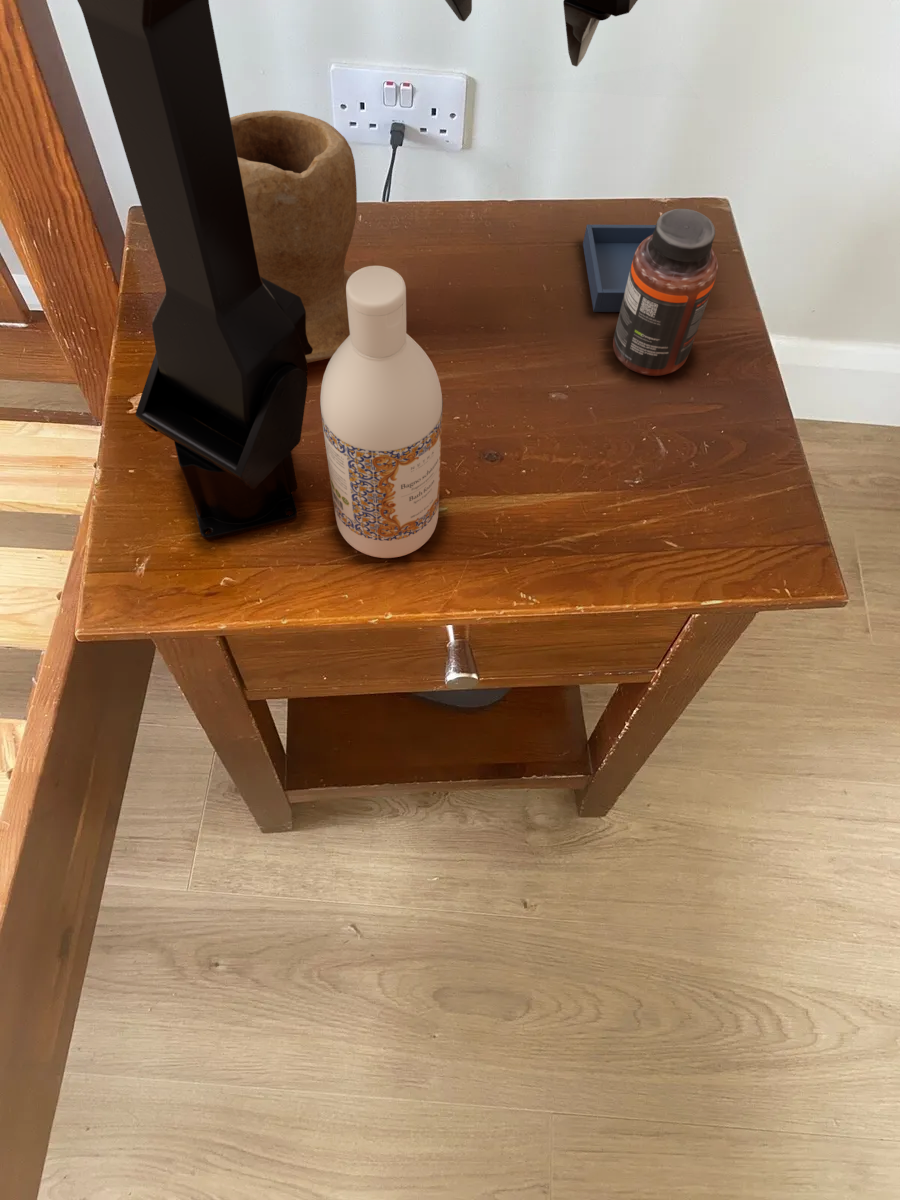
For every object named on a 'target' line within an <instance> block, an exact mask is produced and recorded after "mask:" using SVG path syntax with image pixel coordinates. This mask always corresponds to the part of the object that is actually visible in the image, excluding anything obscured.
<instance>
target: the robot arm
mask: <svg viewBox="0 0 900 1200" xmlns="http://www.w3.org/2000/svg"><path fill="white" fill-rule="evenodd" d="M76 1H77V3H78V5H79V8H80V10H81V12H82V16H83V19H84V21H85V25H86V28H87V31H88V35H89V38H90V41H91V45H92V48H93V51H94V54H95V58H96V61H97V65H98V68H99V71H100V74H101V77H102V78H101V79H102V81H103V84H104V88H105V90H106V94H107V98H108V100H109V101H108V102H109V104H110V107H111V111H112V115H113V117H114V120H115V124H116V127H117V130H118V134H119V137H120V140H121V143H122V147H123V151H124V153H125V157H126V161H127V163H128V167H129V169H130V173H131V177H132V179H133V183H134V186H135V189H136V193H137V196H138V199H139V203H140V207H141V209H142V212H143V215H144V219H145V222H146V225H147V229H148V232H149V235H150V239H151V242H152V245H153V249H154V252H155V255H156V258H157V262H158V266H159V268H160V272H161V276H162V279H163V282H164V286H165V292H164V293H163V296H162V297H161V299H160V302H159V304H158V306H157V308H156V310H155V312H154V315H153V317H152V319H151V328H152V334H153V335H152V336H153V341H154V347H155V354H154V356H153V360H152V362H151V366H150V369H149V372H148V374H147V377H146V381H145V383H144V387H143V389H142V393H141V395H140V399H139V401H138V405H137V407H136V410H135V417H136V418H137V419H138V420H139V421H140V422H141V423H142V424H144V425H145V426H147V428H149V429H150V430H151V431H154V432H159V434H162V435H163V436H165V437H166V438H168V439H170V440H171V441H173V442H174V446H175V452H176V456H177V461H178V465H179V467H180V469H181V472H182V475H183V478H184V481H185V483H186V486H187V488H188V491H189V493H190V497H191V499H192V502H193V505H194V511H195V515H196V519H197V522H198V523H197V524H198V528H199V532H200V535H201V537H202V539H203V540H205V541H214V540H218V539H222V538H226V537H229V536H234V535H239V534H242V533H243V534H244V533H246V532H250V531H255V530H258V529H259V530H260V529H264V528H267V527H272V526H276V525H280V524H283V523H288V522H292V521H294V520H296V519H297V518H298V516H299V515H298V508H297V505H296V502H295V498H294V495H293V493H295V492H297V491H298V489H299V487H298V485H299V484H298V480H297V476H296V471H295V466H294V461H293V455H292V451H293V450H294V449H295V448H296V447H297V446H298V445H299V444H300V442H301V440H302V431H303V423H304V417H305V416H304V414H305V408H306V402H307V401H306V400H307V392H308V374H309V373H308V363H307V360H306V356H305V355H308V354H311V353H312V351H313V348H312V347H311V345H310V344H309V343H308V339H307V335H306V311H305V308H304V306H303V303H302V300H301V298H300V297H299V296H297V295H295V294H293V293H291V292H290V291H288V290H286V289H284V288H282V287H280V286H278V285H276V284H274V283H272V282H270V281H268V280H266V279H265V278H263V277H261V276H260V274H259V270H258V265H257V259H256V254H255V248H254V243H253V238H252V232H251V227H250V222H249V216H248V211H247V205H246V200H245V195H244V189H243V184H242V179H241V173H240V168H239V162H238V157H237V152H236V146H235V141H234V136H233V130H232V125H231V119H230V118H231V113H230V110H229V104H228V98H227V92H226V87H225V83H224V82H225V81H224V77H223V72H222V66H221V61H220V55H219V50H218V45H217V40H216V34H215V29H214V24H213V18H212V11H211V6H210V0H76ZM444 1H445V2H446V4H447V5H448V7H449V8H450V9H451V11H452V12H453V13H454V15H455V16H456V18H457V19H458V20H459V21H461V22H465V21H467V19H468V18H469V17H470V15H471V14H472V10H473V0H444ZM638 1H639V0H563V1H562V4H563V5H562V6H563V11H564V12H563V13H564V14H563V15H564V24H565V32H566V33H565V34H566V43H567V52H568V56H569V60H570V64H571V65H572V66H573V67H576V68H577V67H578V66H579V65H580V63H581V62H583V59H584V58H585V56H586V54H587V51H588V49H589V47H590V44H591V42H592V40H593V37H594V35H595V32H596V30H597V28H598V26H599V23H600V21H606V20H608V19H609V18H610V17H611V16H613V17H619V16H622V15H626V14H629V13H631V10H632V9H633V8H634V6H635V5H636V4H637V2H638ZM208 532H209V533H208Z"/></svg>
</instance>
